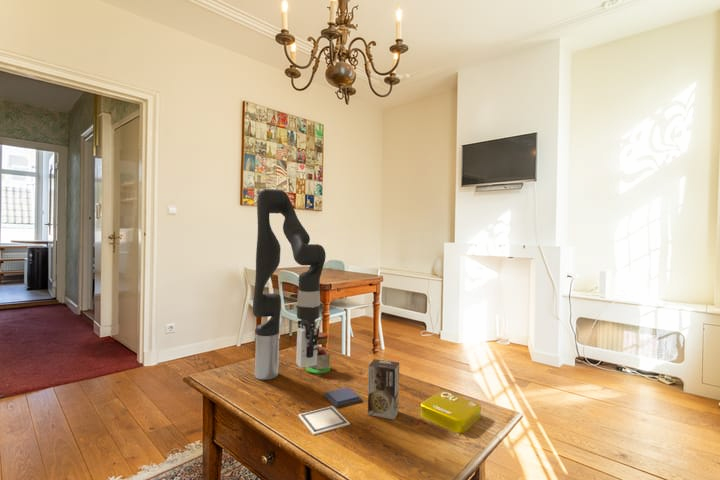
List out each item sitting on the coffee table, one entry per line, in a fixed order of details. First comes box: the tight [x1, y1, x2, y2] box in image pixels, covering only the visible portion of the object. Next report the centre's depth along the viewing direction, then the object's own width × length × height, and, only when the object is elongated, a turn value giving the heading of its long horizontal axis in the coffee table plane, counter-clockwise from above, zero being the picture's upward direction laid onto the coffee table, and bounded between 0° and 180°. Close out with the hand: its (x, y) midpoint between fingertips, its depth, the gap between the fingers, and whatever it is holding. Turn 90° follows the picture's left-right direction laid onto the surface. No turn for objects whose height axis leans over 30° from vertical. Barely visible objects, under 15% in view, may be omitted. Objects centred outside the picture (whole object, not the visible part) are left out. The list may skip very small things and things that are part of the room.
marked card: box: [297, 405, 351, 436], centre depth 106 cm, size 12×12×1 cm
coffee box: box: [367, 358, 400, 420], centre depth 111 cm, size 9×6×16 cm
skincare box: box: [295, 327, 319, 369], centre depth 114 cm, size 6×4×12 cm
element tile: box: [420, 390, 482, 434], centre depth 110 cm, size 15×15×5 cm
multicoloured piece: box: [305, 331, 331, 375], centre depth 147 cm, size 12×13×15 cm
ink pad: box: [323, 387, 363, 409], centre depth 120 cm, size 10×10×2 cm
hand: (307, 354), depth 114 cm, fingers closed on skincare box, 4 cm apart
